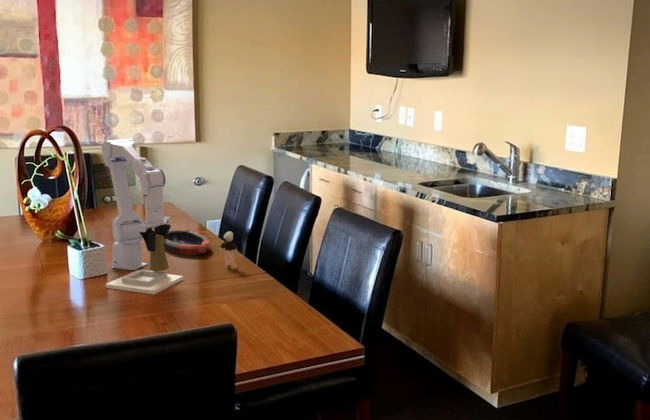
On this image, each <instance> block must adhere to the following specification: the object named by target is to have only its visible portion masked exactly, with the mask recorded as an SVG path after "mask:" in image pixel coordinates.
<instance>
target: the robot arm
mask: <svg viewBox="0 0 650 420" xmlns="http://www.w3.org/2000/svg"><path fill="white" fill-rule="evenodd" d="M101 145H102V146H101V154H102V158H103V162H104V166H105V167H107V168H109V173H110V177H111V181H112V182H111V183H112V186H113V190H114V191H113V192H114V197H115V202H116V207H117V212H118V215H117V216H116V217H115V218H114V219H113V221H112V236H113V239H114V243H113V244H112V247H111V255H112V258H111V259H112V266H111V268H113V269H119V270H120V269H121V270H130V271H137V270H139V269H141V268H143V267H144V266H147V265H148V263H147V262H143V257H142V242H143V241H144V243H145V246H146V249H147V252H150V251H151V252H154V251H155V239H156V235H162V236H163V237H164V238H165V242H166V238H167V234H168V232H169V231H171V226H172V225H171V224H170V223H171V216H165V215H164V214H165V213H164V211H165V210H164V198H163V197H164V196H163V188H164V186H165V185H166V175H165V172H164V170H163V169H162V168H155V166H153V164H152V163H151V162H150V161H149V160H148V159H147V158H146V157H141V155H139V153H138V152H137V149H136V143H135V141H134V140H133V139H132V138H126V139H113V140H112V139H109V140H108V139H106V140H104V141H103V142H102V144H101ZM129 164H130V165H131V171H132V172H133V173H134V174H135V175H136V177H138V178H139V183H140V186H141V192H142V195H143V196H144V197H143V199H144V200H143V201H144V212H145V213H144V214H145V216H144V217H145V221H143V217H142V216H141V215H139V214H137V213H136V212H135V211H134V207H133V203H132V196H131V192H130V188H129V182H128V177H127V172H126V167H127V165H129ZM164 248H166V247H165V243H164Z"/></svg>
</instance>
